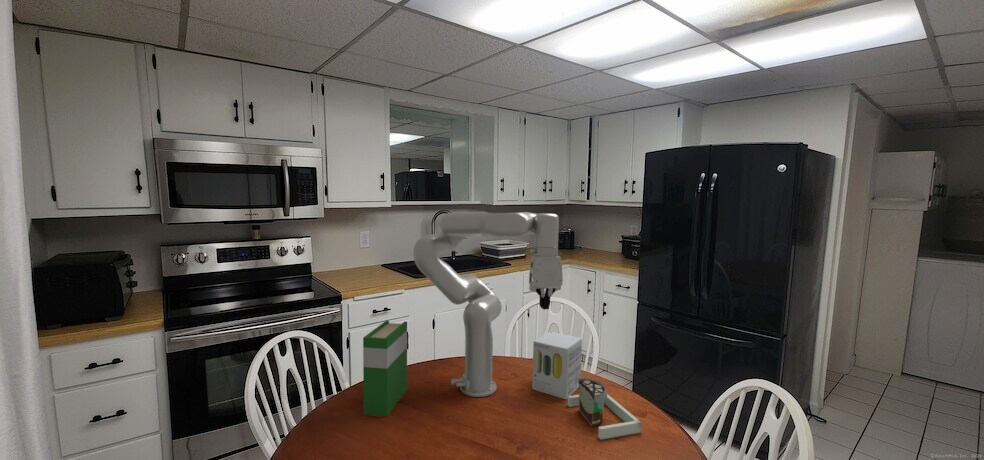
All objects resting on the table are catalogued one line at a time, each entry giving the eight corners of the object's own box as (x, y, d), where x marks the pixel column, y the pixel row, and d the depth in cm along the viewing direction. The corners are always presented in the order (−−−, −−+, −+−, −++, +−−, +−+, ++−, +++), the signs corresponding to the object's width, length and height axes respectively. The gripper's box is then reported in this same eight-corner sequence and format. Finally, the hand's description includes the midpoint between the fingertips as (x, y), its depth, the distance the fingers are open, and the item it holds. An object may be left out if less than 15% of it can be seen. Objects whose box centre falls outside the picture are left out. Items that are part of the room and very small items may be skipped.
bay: (600, 439, 110) (600, 429, 109) (567, 405, 128) (567, 396, 128) (641, 432, 113) (641, 422, 113) (603, 400, 132) (603, 391, 132)
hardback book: (386, 388, 138) (386, 320, 136) (407, 389, 137) (407, 321, 135) (363, 415, 121) (363, 337, 119) (387, 417, 120) (386, 339, 118)
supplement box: (531, 389, 139) (532, 340, 138) (547, 376, 150) (548, 330, 149) (566, 400, 131) (568, 348, 130) (581, 385, 142) (582, 337, 141)
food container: (613, 427, 116) (615, 394, 115) (594, 429, 115) (595, 395, 114) (595, 406, 128) (596, 376, 127) (577, 407, 127) (578, 377, 126)
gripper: (528, 254, 121) (527, 313, 123) (572, 253, 126) (571, 310, 127) (519, 251, 128) (518, 306, 130) (561, 250, 133) (560, 304, 134)
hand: (544, 308), depth 128 cm, fingers closed
